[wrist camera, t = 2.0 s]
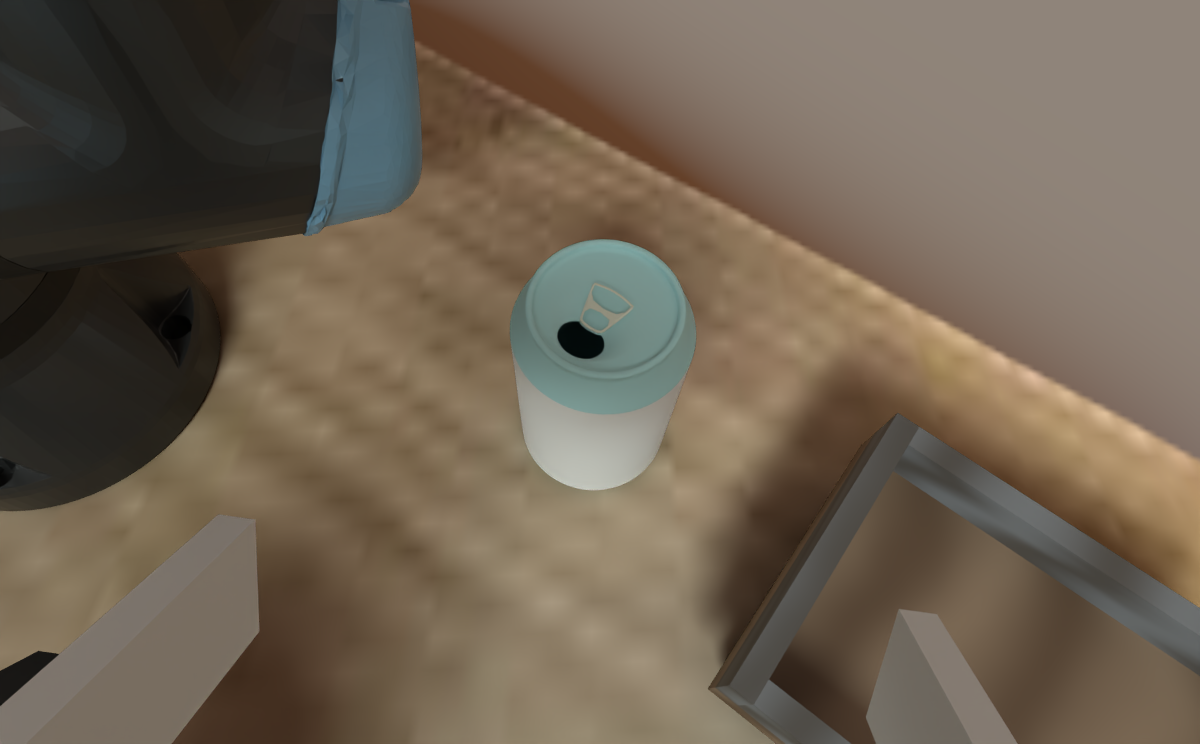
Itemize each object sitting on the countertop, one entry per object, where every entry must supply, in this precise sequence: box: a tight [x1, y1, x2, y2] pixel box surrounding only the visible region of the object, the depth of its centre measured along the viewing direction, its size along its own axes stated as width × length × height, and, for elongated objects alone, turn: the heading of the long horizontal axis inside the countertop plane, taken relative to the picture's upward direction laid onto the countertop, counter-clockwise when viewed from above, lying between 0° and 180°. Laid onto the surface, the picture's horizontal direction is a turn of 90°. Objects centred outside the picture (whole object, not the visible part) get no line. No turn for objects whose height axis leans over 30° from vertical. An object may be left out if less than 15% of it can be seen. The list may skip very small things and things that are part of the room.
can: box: [510, 239, 696, 490], centre depth 30 cm, size 7×7×12 cm
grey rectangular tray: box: [708, 413, 1200, 744], centre depth 28 cm, size 18×13×7 cm
